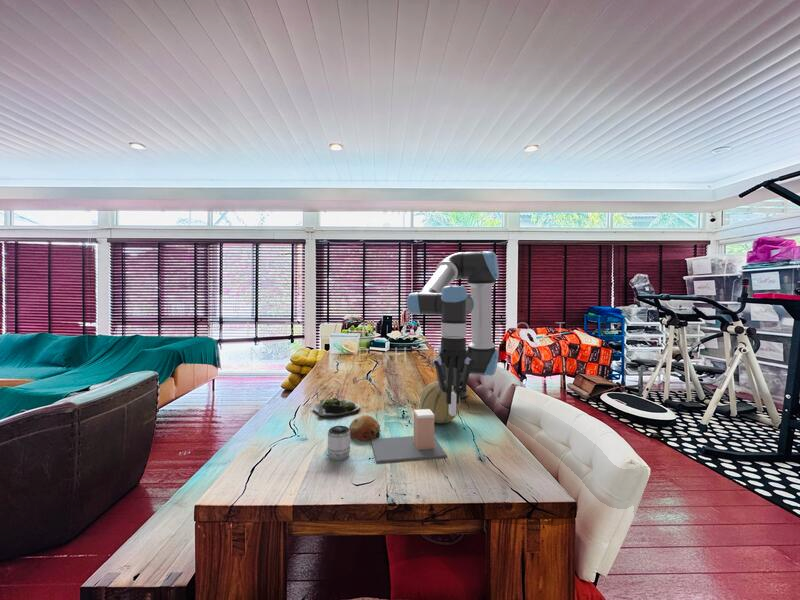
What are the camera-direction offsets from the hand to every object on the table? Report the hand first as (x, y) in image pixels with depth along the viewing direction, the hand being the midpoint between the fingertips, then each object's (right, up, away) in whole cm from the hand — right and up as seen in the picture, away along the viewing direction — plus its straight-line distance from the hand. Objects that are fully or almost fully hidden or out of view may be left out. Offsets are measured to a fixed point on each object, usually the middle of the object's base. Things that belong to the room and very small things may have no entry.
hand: (452, 414), depth 103 cm
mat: (-14, -10, -2) cm, 17 cm away
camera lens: (-33, -10, -7) cm, 35 cm away
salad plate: (-41, -9, +30) cm, 52 cm away
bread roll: (-27, -10, +7) cm, 30 cm away
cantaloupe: (-2, -9, +19) cm, 22 cm away
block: (-9, -9, -1) cm, 13 cm away
